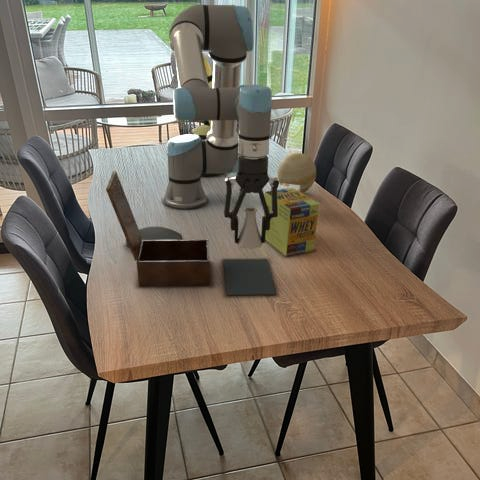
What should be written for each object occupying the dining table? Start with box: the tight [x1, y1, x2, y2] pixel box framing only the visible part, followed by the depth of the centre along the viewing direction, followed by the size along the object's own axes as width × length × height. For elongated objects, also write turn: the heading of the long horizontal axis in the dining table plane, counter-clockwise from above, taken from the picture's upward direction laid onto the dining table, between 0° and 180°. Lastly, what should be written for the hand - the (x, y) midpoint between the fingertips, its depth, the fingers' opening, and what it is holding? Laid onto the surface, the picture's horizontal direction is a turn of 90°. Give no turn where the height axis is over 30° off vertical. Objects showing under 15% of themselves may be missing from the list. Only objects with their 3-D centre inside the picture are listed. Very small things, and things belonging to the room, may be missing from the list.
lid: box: [105, 170, 142, 262], centre depth 133 cm, size 20×13×1 cm
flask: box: [235, 206, 263, 250], centre depth 135 cm, size 7×7×10 cm
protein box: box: [262, 188, 320, 257], centre depth 157 cm, size 10×15×16 cm
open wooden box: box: [136, 239, 211, 288], centre depth 141 cm, size 19×13×8 cm
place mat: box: [223, 258, 276, 297], centre depth 143 cm, size 20×13×1 cm, turn 4°
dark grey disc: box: [125, 226, 183, 250], centre depth 158 cm, size 15×15×3 cm
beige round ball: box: [277, 152, 317, 193], centre depth 196 cm, size 15×15×15 cm
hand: (249, 240), depth 137 cm, fingers closed on flask, 7 cm apart
